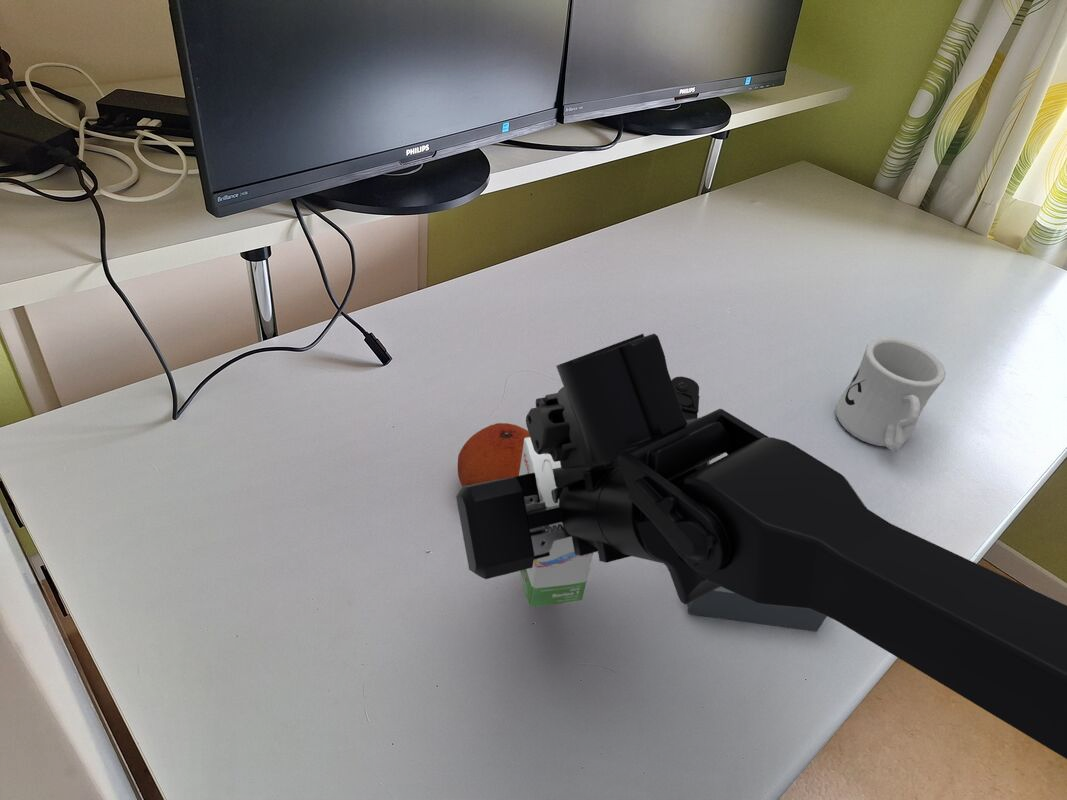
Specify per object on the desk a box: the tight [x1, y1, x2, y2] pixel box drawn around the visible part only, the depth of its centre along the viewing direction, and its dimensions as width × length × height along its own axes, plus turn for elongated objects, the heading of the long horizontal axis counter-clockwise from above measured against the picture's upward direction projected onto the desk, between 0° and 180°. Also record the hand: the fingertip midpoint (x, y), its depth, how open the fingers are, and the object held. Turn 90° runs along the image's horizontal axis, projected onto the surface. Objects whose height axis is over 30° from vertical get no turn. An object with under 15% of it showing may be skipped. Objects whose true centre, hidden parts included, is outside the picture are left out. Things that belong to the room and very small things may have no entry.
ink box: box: [519, 437, 594, 608], centre depth 61 cm, size 8×5×12 cm, turn 12°
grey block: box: [687, 587, 828, 632], centre depth 73 cm, size 12×12×4 cm
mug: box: [835, 336, 947, 452], centre depth 89 cm, size 12×9×10 cm
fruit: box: [457, 422, 530, 487], centre depth 75 cm, size 9×9×8 cm
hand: (550, 501), depth 62 cm, fingers closed on ink box, 5 cm apart
